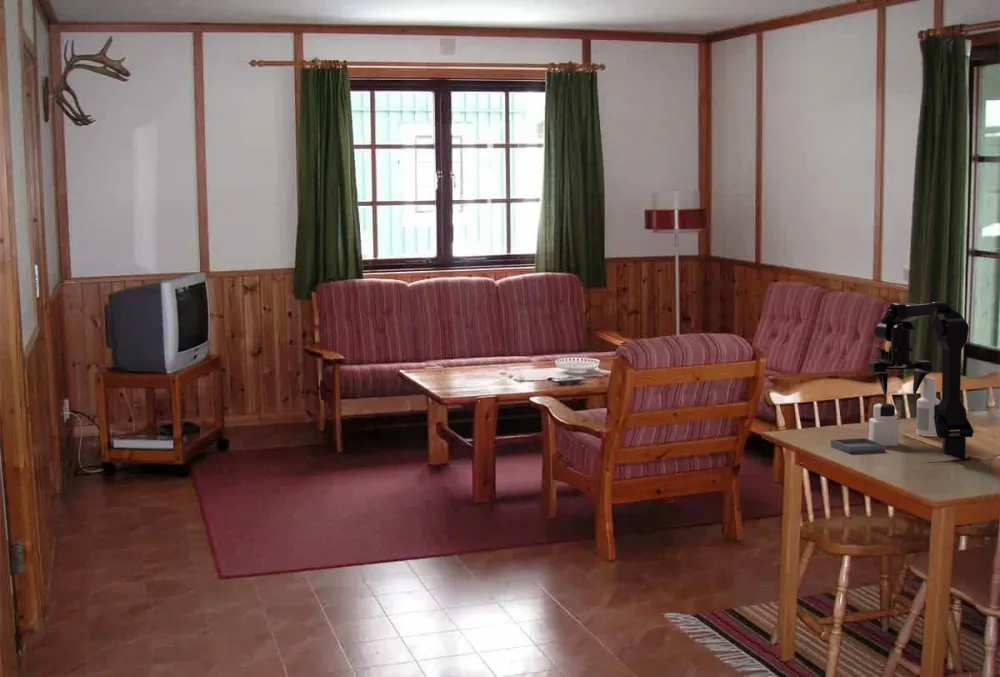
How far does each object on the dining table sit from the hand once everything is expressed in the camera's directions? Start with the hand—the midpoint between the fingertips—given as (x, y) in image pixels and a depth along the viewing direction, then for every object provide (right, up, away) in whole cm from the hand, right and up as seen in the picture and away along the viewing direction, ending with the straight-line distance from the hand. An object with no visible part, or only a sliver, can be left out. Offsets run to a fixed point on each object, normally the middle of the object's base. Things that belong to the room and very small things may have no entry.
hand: (899, 394), depth 365 cm
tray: (-18, -15, -17) cm, 29 cm away
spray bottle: (+9, -13, +2) cm, 16 cm away
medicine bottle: (-8, -15, -10) cm, 19 cm away
